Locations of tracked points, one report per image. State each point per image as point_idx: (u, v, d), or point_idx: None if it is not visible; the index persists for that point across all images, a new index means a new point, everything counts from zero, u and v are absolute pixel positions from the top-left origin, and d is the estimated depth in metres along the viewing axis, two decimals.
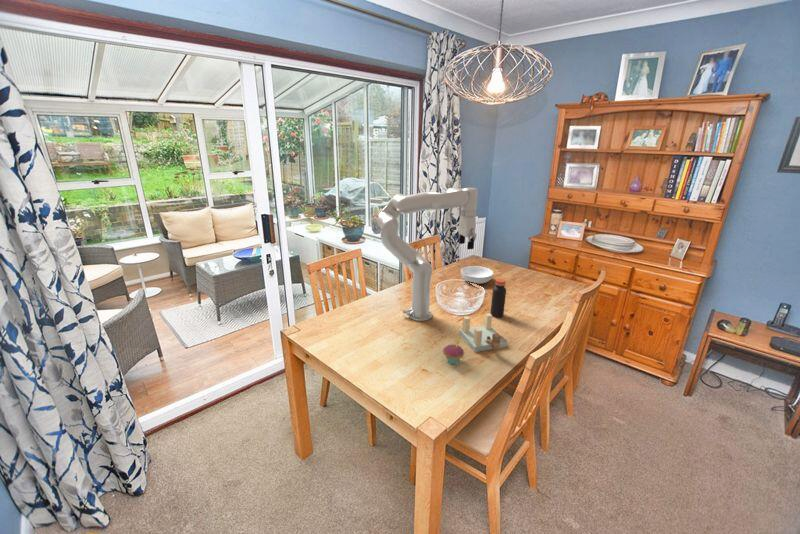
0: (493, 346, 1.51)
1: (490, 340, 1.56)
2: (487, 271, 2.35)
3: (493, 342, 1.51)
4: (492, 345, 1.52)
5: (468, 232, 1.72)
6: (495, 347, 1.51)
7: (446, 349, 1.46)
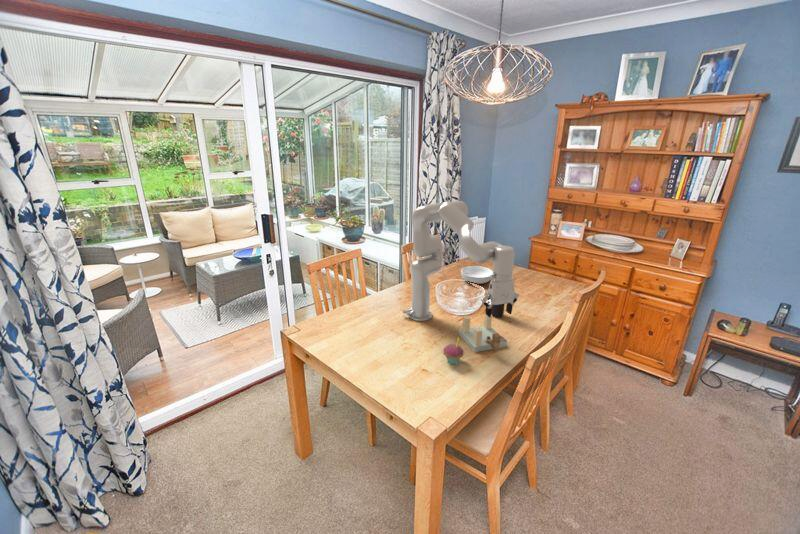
0: (493, 346, 1.51)
1: (490, 340, 1.56)
2: (487, 271, 2.35)
3: (493, 342, 1.51)
4: (492, 345, 1.52)
5: None
6: (495, 347, 1.51)
7: (446, 349, 1.46)
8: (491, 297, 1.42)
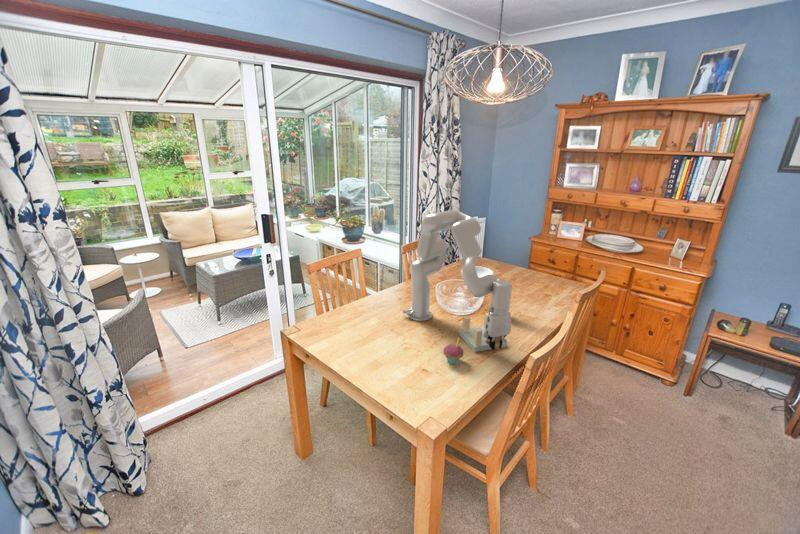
0: None
1: None
2: (487, 271, 2.35)
3: None
4: None
5: None
6: (495, 347, 1.51)
7: (446, 349, 1.46)
8: (488, 330, 1.46)
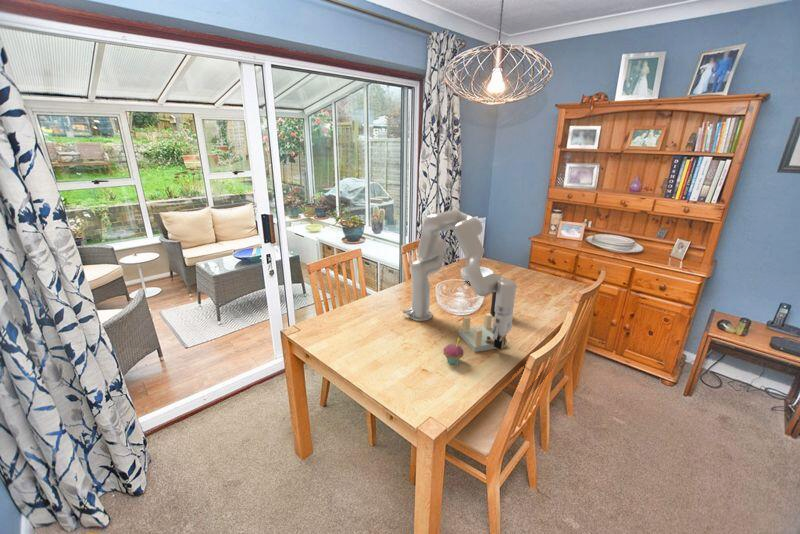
0: None
1: (491, 340, 1.56)
2: (487, 271, 2.35)
3: None
4: None
5: None
6: (501, 346, 1.52)
7: (446, 349, 1.46)
8: (500, 331, 1.46)
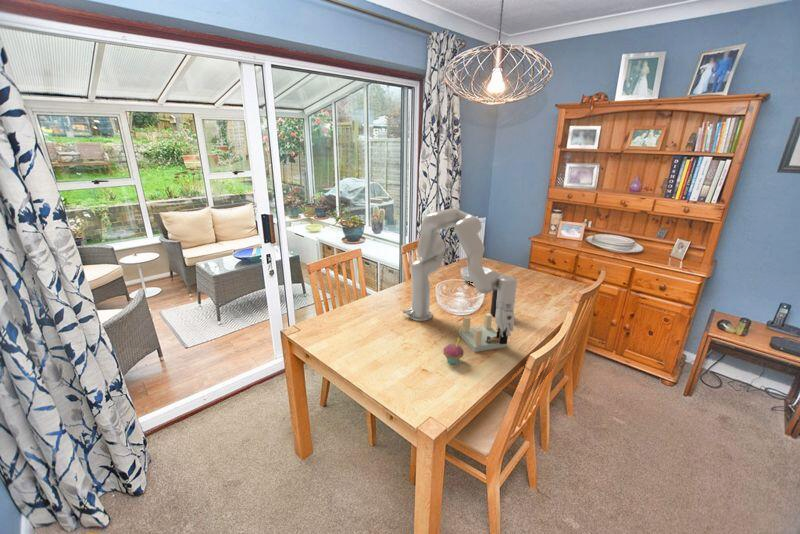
0: None
1: (492, 338, 1.57)
2: (487, 271, 2.35)
3: None
4: None
5: None
6: None
7: (446, 349, 1.46)
8: (511, 326, 1.49)
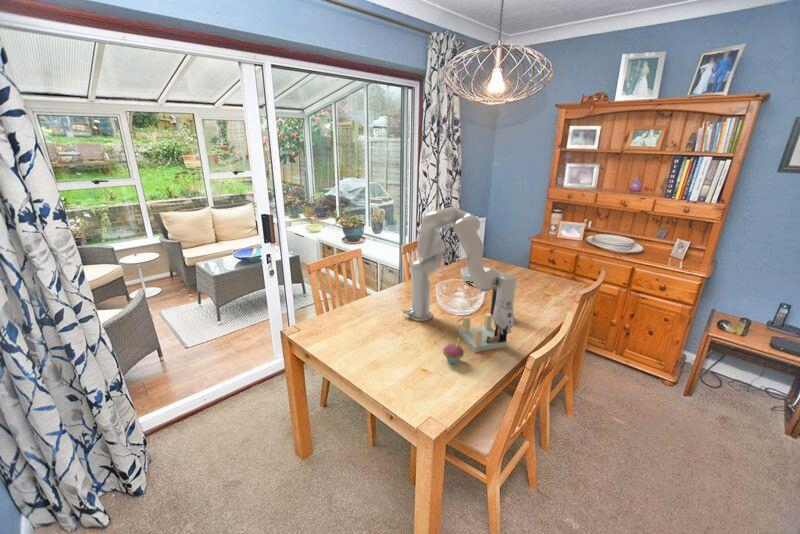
0: None
1: (492, 337, 1.58)
2: None
3: None
4: None
5: None
6: None
7: (446, 349, 1.46)
8: (511, 323, 1.52)
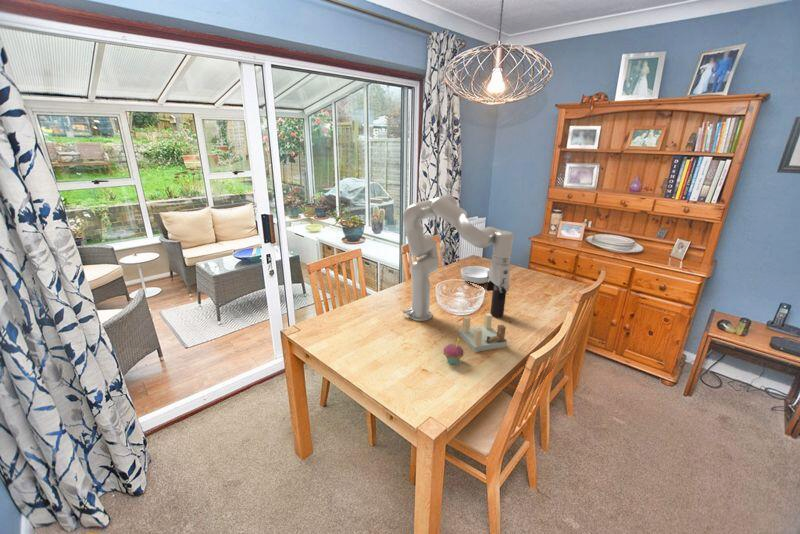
0: (502, 337, 1.58)
1: (492, 337, 1.58)
2: None
3: (502, 334, 1.57)
4: (501, 338, 1.58)
5: None
6: None
7: (446, 349, 1.46)
8: (507, 281, 1.50)
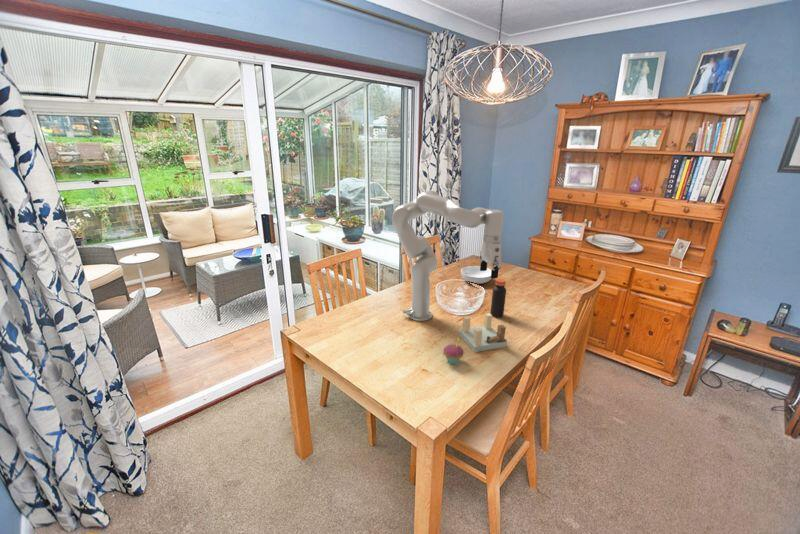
0: (502, 337, 1.58)
1: (492, 337, 1.58)
2: (487, 271, 2.35)
3: (502, 334, 1.57)
4: (501, 338, 1.58)
5: None
6: None
7: (446, 349, 1.46)
8: (499, 258, 1.53)
